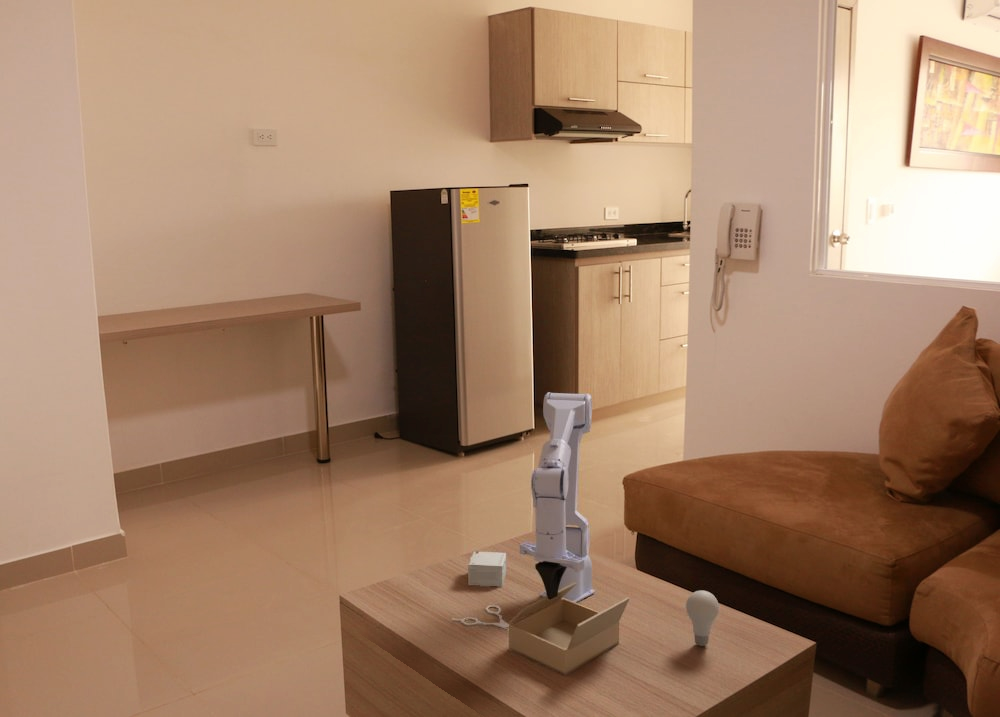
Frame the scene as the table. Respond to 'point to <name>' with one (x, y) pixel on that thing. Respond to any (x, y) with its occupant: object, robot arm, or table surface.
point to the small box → (487, 569)
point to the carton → (559, 637)
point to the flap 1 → (542, 603)
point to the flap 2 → (598, 623)
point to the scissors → (501, 624)
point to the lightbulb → (702, 614)
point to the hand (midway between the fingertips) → (551, 597)
